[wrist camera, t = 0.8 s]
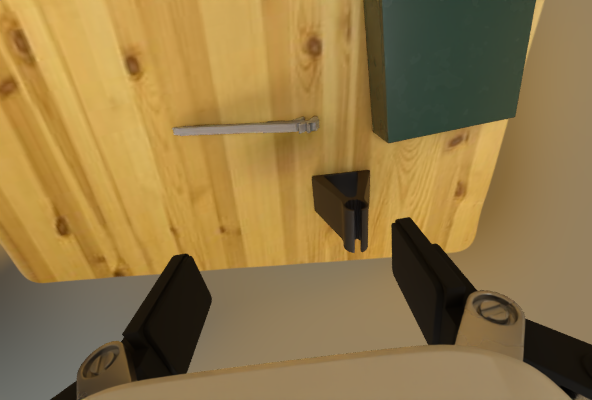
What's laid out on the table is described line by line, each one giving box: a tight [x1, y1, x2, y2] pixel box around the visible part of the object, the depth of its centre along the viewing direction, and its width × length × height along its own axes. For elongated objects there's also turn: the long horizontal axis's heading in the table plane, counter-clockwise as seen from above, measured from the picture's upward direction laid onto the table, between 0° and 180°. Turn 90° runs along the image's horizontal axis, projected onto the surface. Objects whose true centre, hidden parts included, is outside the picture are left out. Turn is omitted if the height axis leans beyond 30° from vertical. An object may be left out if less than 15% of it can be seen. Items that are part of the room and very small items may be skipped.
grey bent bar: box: [172, 116, 319, 136], centre depth 33 cm, size 20×1×6 cm, turn 95°
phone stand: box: [312, 170, 370, 253], centre depth 35 cm, size 9×6×12 cm, turn 96°
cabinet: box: [364, 0, 536, 143], centre depth 29 cm, size 18×15×7 cm
